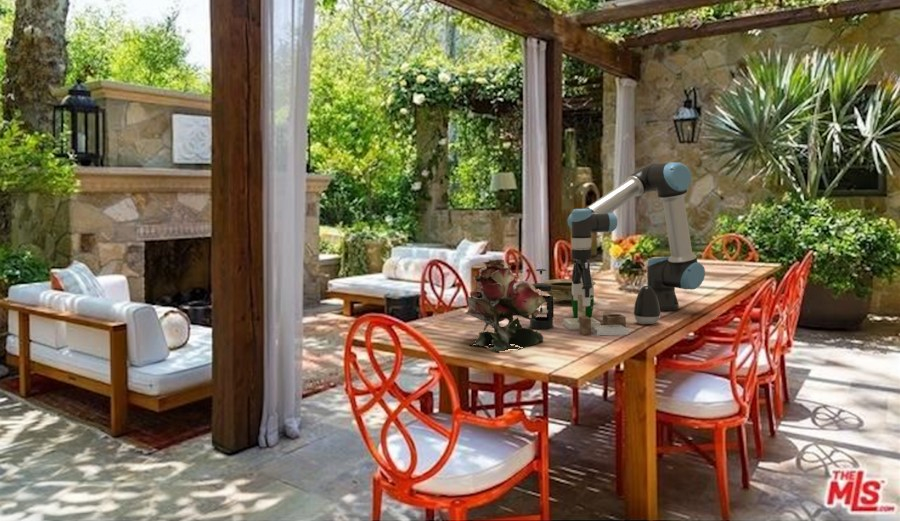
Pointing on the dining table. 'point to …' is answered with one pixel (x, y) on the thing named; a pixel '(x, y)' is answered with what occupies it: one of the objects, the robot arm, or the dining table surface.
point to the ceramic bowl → (561, 289)
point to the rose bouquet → (504, 307)
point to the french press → (543, 321)
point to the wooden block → (585, 325)
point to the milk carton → (588, 308)
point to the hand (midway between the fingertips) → (581, 303)
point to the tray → (574, 325)
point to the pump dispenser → (647, 306)
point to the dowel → (581, 307)
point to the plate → (609, 330)
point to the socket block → (614, 319)
